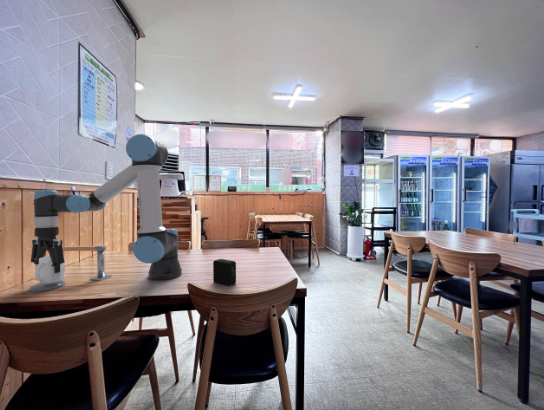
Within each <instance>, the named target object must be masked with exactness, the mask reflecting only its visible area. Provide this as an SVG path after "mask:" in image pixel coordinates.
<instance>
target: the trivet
mask: <svg viewBox="0 0 544 410" xmlns="http://www.w3.org/2000/svg"><path fill="white" fill-rule="evenodd" d="M65 284H66V282H65V280H62V281H59V282H55V283H48V284H42V283H40V282H39V283H36V284H32V286H30V287H29V292H32V293H40V292H41V291H42V292H48V290H49V291H52V290H57V289H60V288H62V287H64V286H65Z"/></svg>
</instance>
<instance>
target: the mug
mask: <svg viewBox="0 0 544 410" xmlns="http://www.w3.org/2000/svg"><path fill="white" fill-rule="evenodd" d="M65 258H66V257H65V255H64V261H65V262H64V263H62V264H60V280H57V281H53V282H52V278H51V265H53V263H52V261H51V258H50V255H48V256H44V257H42V258H39V265H38V266H37V267H36V269H35V268H34V277H35V280H36V279H37V280H36V281H39V283H42V284H48V283H55V282H59V281H65V279H66V259H65Z"/></svg>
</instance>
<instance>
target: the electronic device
mask: <svg viewBox="0 0 544 410" xmlns="http://www.w3.org/2000/svg"><path fill="white" fill-rule="evenodd" d="M212 265H213V267H212V271H213V272H212V273H213V276H212V279H213V280H212V281H213V283H215V284H218V285H222V286H227V287H230V286H232V285H235V284H236V283H237V263H236V261H234V260H230V259H225V258H224V259H223V258H218V259H215V260H213V261H212Z"/></svg>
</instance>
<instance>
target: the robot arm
mask: <svg viewBox="0 0 544 410" xmlns="http://www.w3.org/2000/svg"><path fill="white" fill-rule="evenodd" d="M125 152H126V155H127V156H128V157H129V159H131V164H130V165H128V166H127V167H125V168H124V169H123V170H121V171H120V172H118V173H117V174H116V175H115V176H114V175H113V177H112V178H110V179H109V180H108V181H106V182H104V183H103V184H101V186H100V185H99V187H97V188H96V189H95V190H94V191H91V192H90V193H89V194H87V195H86V194H85V195H84V194H59V191H57V190H52V189H51V190H49V189H38V190H35V191H34V193H33V206H34V207H33V209H34V210H33V211H34V217H33V219H34V221H33V222H34V223H33V224H34V237H36V238H37V239H36V238H35V239H32V240H31V242H32V247H31V256H30V263H33V264H34V266H35V267H34V270H35V269H36V267H37V266H38V265H39V258H42V257H46V256H45V255H46V252H48V256H50V258H51V261H52V263H53V265H51V278H52V282H53V281H57V280H60V264H62V263H64V262H65V263H66V260H65V261H64V256H65V254H64V251H63V248H62V247H63V240H62V239H59V240H58V239H57V236H59V233H60V229H59V213H73V214H77V213H87V212H97V211H101V210H103V209H105V207H106V205H107V203H108V202H110V201H112V200H113V199H114V198H115V197H117V196H119V195H120V194H121V193H123V192H124V191H125V190H126V189H128V188H130V187H131V186H132V185H134V184H136V183H137V193H138V195H137V196H138V208H139V209H138V211H139V224H140V228H139V229H138V230H137V231H136V238H137V239H136V241H135V242H134V244H133V247H132V252H133V254H134V257H135V258H136V259H137V260H138V261H140V262H141V263H144V264H150V267H149V270H148V272H147V273H148V274H147V275H148V276H147V278H148V279H150V280H152V281H153V280H154V281H164V280H165V281H166V280H171V279H175V278H178V277H180V276H181V275H182V274H183V271H182V270H183V269H182V267H181V263H180V261H179V233H178V230H177V229H176V228H166V227H165V226H164V225H163V214H162V199H161V197H162V196H161V185H160V184H161V183H160V171H161V170H162V169H163V166H164V165H165V164H166V162H167V161H168V159H169V151H168V147H166V146H165V144H163V143H162V142H160V141H158V140H157V139H155V138H154V137H153V136H151V135H147V134H144V133H139V134H135V135H132V136H131V137H130V138H129V139H128V140H127V142H126V145H125ZM35 280H36V281H38V280H37V279H36V278H35Z"/></svg>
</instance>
